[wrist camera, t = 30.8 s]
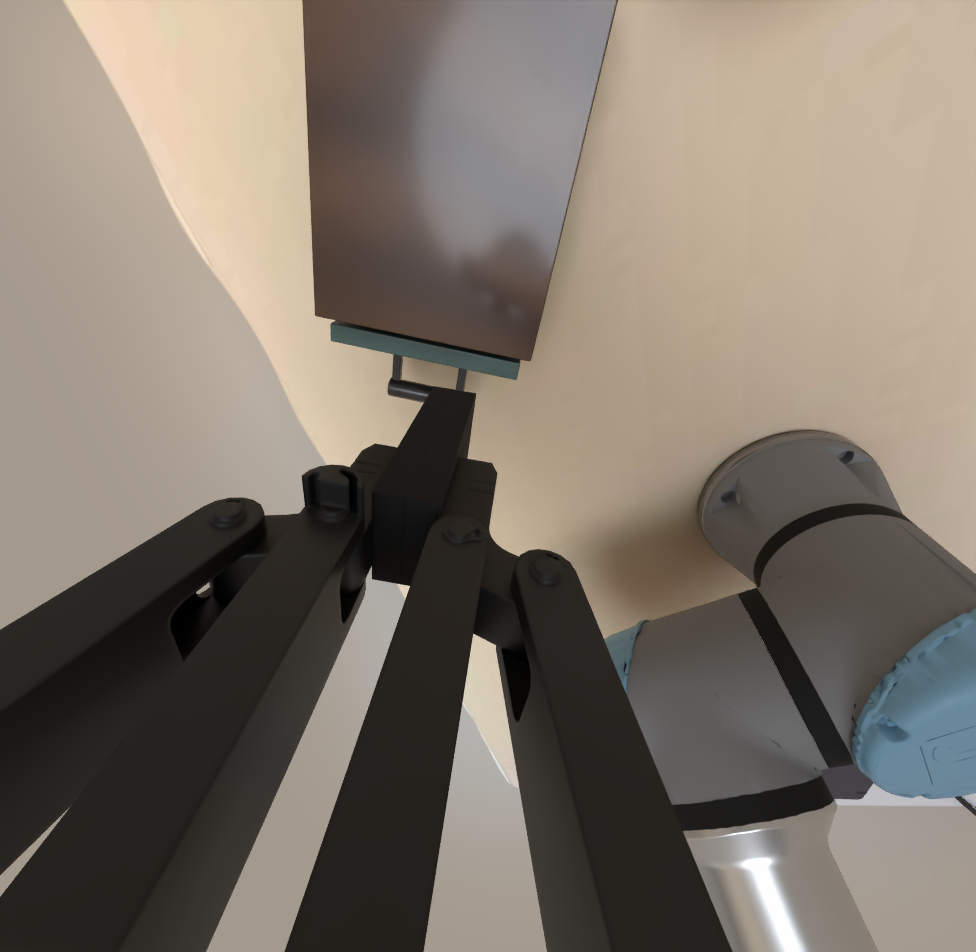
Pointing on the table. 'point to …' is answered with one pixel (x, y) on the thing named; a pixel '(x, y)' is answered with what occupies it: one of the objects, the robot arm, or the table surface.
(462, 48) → the cabinet
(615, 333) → the table surface
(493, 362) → the drawer
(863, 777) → the notebook
